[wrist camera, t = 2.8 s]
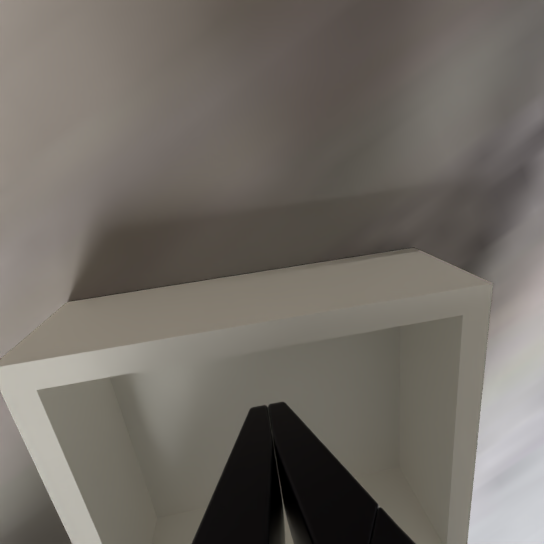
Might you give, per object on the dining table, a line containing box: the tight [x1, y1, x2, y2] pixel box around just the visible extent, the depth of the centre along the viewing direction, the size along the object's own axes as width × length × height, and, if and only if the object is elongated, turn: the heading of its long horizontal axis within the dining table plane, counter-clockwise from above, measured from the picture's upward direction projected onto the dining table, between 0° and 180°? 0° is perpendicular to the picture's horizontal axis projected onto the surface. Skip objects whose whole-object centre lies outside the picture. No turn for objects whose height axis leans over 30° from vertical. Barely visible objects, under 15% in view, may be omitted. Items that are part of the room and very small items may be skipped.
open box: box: [0, 248, 493, 544], centre depth 15 cm, size 14×16×5 cm
